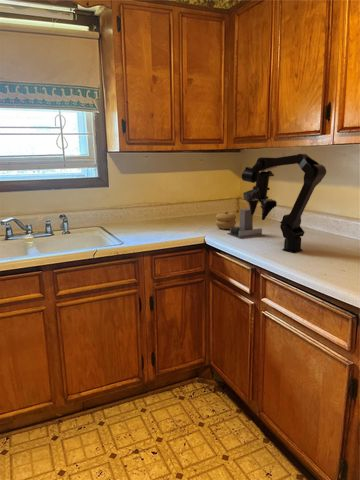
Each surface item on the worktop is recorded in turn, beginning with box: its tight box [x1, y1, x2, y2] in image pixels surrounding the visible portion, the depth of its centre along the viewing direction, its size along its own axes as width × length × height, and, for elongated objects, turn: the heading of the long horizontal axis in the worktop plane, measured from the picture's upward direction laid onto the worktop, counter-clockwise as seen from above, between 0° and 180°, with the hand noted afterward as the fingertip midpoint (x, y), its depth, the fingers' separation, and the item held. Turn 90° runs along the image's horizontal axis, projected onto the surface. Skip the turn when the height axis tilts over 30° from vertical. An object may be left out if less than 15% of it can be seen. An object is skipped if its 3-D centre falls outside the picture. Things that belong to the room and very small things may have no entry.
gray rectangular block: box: [239, 208, 254, 231], centre depth 197 cm, size 5×5×13 cm
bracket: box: [227, 225, 266, 240], centre depth 198 cm, size 13×15×4 cm
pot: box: [215, 210, 237, 230], centre depth 214 cm, size 12×12×10 cm
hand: (257, 217), depth 178 cm, fingers open, 9 cm apart
